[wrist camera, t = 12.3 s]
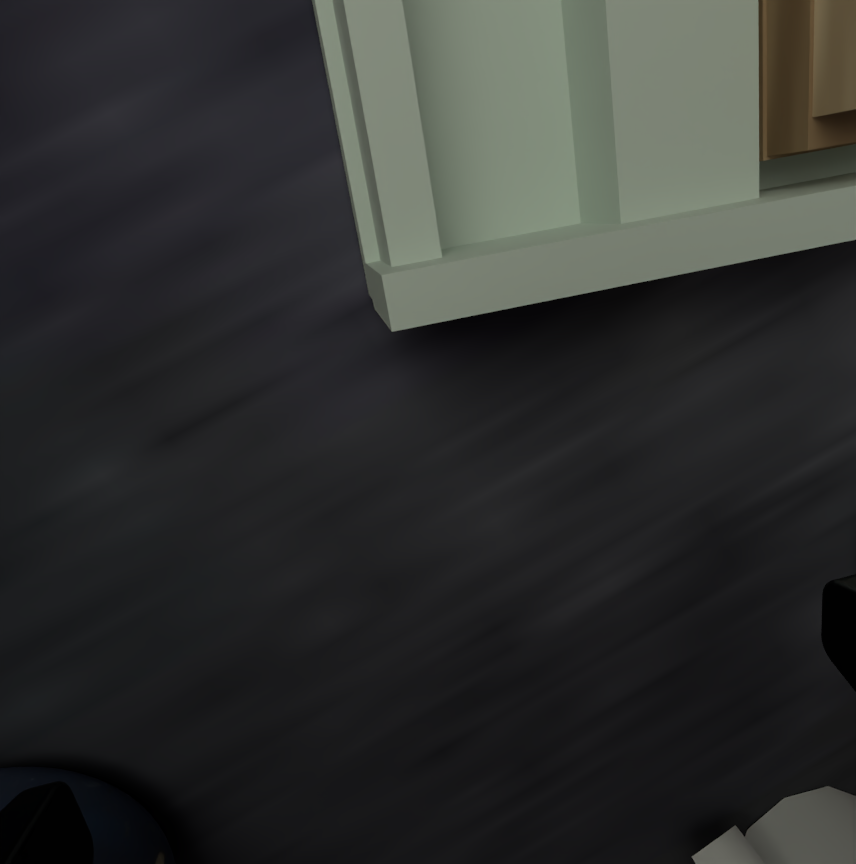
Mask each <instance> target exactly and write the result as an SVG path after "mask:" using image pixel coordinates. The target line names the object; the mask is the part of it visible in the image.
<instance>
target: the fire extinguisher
mask: <svg viewBox="0 0 856 864" xmlns="http://www.w3.org/2000/svg"><path fill="white" fill-rule="evenodd" d="M692 858H693V860H694V862H695V863H696V864H856V796H854V795H851V794H849V793H846V792H843V791H840V790H838V789H835V788H832V787H829V786H826V787H823V788H819V789H815V790H812V791H808V792H804V793H801V794H797V795H793V796H789V797H786V798H784V799H782V800H781V801H780V802H779V803H778V804H777V805H775V806H774V807H773V808H772V809H771V810H769V811H768V812H767V813H766V814H765V815H764V816H762V817H761V818H760V819H759V820H758V821H757V822H755V823H754V824H753V825H752V826H751V827H750V828H748V830H747V832H746V835H745V837H744V836H743V834H742V833H741V832H740V830H739V829H738V828H737V827H736V825H735V826H734V827H732V828H731V829H729V830H728V831H727V832H725V833H724V834H723V835H721V836H720V837H718V838H717V839H716V840H714V841H713V842H712V843H710V844H709V845H707V846H706V847H705V848H703V849H702V850H700V851H699V852H698V853H696V854H695V855H694V856H692Z"/></svg>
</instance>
